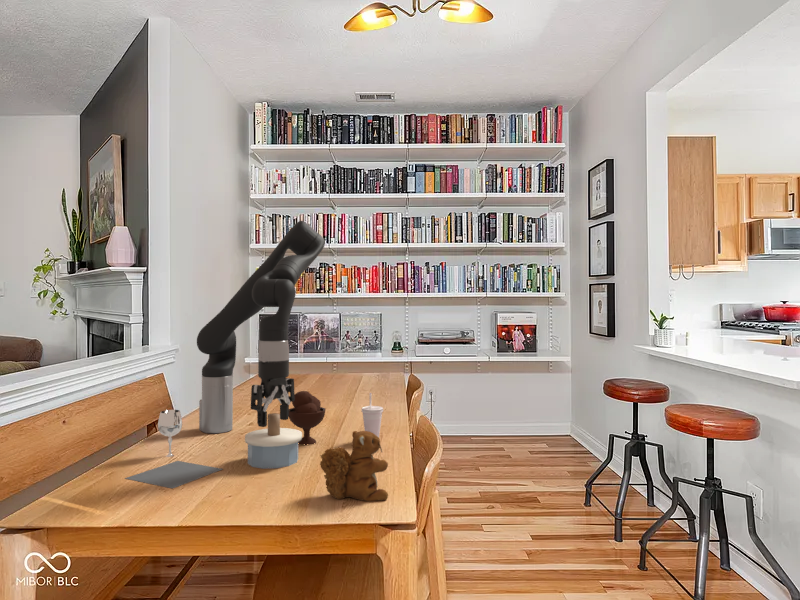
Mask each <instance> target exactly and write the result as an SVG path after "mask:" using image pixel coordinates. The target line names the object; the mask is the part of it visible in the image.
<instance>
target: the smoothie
mask: <svg viewBox="0 0 800 600" xmlns="http://www.w3.org/2000/svg"><path fill="white" fill-rule="evenodd" d="M361 412H362V418H363V420H362V421H363V428H364V431H369V432H372V433H374V434H375V435H376V436H378V437H379V438H380V432H381V425H382V415H383V412H384V407H382V406H379V405H372V392H369V405H367V406H363V407H361Z"/></svg>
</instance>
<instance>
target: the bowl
mask: <svg viewBox="0 0 800 600" xmlns="http://www.w3.org/2000/svg"><path fill="white" fill-rule="evenodd" d="M298 460H299V444H298V442H297V443H293V444H289V445H284V446H274V447H261V446H253V445H249V444H247V464H248V465H249V466H250V467H252V468H258V469H262V470H263V469H280V468H287V467H290V466H292V465H294V464H296V463H298Z"/></svg>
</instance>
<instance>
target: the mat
mask: <svg viewBox="0 0 800 600" xmlns="http://www.w3.org/2000/svg"><path fill="white" fill-rule="evenodd" d="M222 470H224V468H221V467H216V466H215V467H214V466H209V465H203V464H197V463H192V462H187V461H186V462H185V461H181V460H176V461H173V462H169V463H167V464H164V465H160V466H158V467H155V468H151V469H148V470H145V471H143V472H140V473H136V474H133V475H131V476H130V475H129V476H126V477H125V478H124V479H125V480H128V481H129V480H130V481H134V482H140V483H144V484H147V485H148V484H149V485H154V486H158V487H163V488H167V489H176V488H178V487H180V486H183V485H185V484H189V483H192V482H194V481H196V480H199V479H201V478H205V477H206V476H209V475H212V474H215V473H217V472H219V471H222Z"/></svg>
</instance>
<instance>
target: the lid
mask: <svg viewBox="0 0 800 600" xmlns="http://www.w3.org/2000/svg"><path fill="white" fill-rule="evenodd" d="M302 438H303V432H302V431H301V430H299V429H295V428H290V427H289V428H287V427H281V419H280V413H277V412H276V413H267V428H263V429H262V428H261V429H256V430H252V431H249V432H247V433H246V434H245V435H244V442H245V444H247V445H248V444H249V445H253V446H261V447H274V446H284V445H289V444H293V443H297V442H299V441H300V440H302Z"/></svg>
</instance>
